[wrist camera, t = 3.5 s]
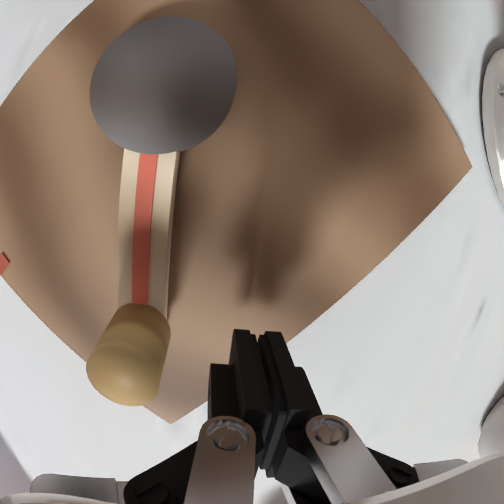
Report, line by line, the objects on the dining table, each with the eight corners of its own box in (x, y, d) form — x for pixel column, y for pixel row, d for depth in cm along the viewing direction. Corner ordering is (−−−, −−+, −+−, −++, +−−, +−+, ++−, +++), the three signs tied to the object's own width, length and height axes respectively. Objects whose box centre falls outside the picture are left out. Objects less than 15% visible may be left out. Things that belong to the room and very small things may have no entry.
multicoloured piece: (116, 30, 9) (77, -16, 5) (244, 35, 9) (257, -19, 5) (93, 332, 12) (59, 390, 8) (203, 348, 13) (199, 415, 9)
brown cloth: (242, -78, 8) (244, -90, 7) (459, 165, 13) (473, 167, 12) (-39, 199, 11) (-52, 203, 10) (172, 411, 15) (170, 425, 14)
